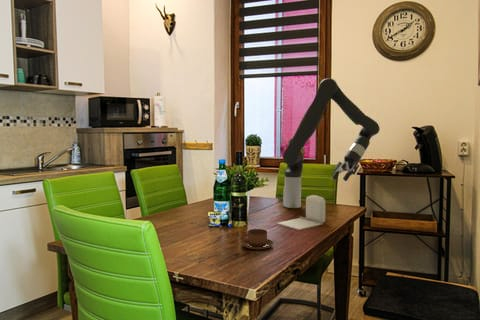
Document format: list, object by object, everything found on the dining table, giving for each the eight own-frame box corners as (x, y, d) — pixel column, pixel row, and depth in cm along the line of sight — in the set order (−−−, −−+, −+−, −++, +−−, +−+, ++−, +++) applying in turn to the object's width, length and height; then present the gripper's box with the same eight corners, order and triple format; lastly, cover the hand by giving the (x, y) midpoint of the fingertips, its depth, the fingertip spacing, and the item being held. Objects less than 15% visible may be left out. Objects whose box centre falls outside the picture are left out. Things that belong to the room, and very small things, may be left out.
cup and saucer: (251, 254, 147) (251, 237, 146) (236, 245, 157) (236, 229, 157) (279, 249, 152) (279, 233, 152) (262, 241, 163) (263, 226, 162)
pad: (277, 223, 190) (277, 221, 190) (300, 218, 200) (300, 216, 199) (298, 230, 179) (298, 227, 179) (322, 224, 189) (322, 221, 188)
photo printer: (304, 219, 198) (304, 194, 197) (310, 218, 201) (310, 193, 200) (320, 223, 190) (321, 197, 189) (326, 222, 193) (327, 196, 192)
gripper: (341, 149, 213) (325, 174, 209) (360, 149, 200) (343, 175, 196) (350, 158, 216) (334, 182, 212) (369, 159, 203) (353, 185, 199)
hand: (339, 179), depth 204 cm, fingers open, 8 cm apart
